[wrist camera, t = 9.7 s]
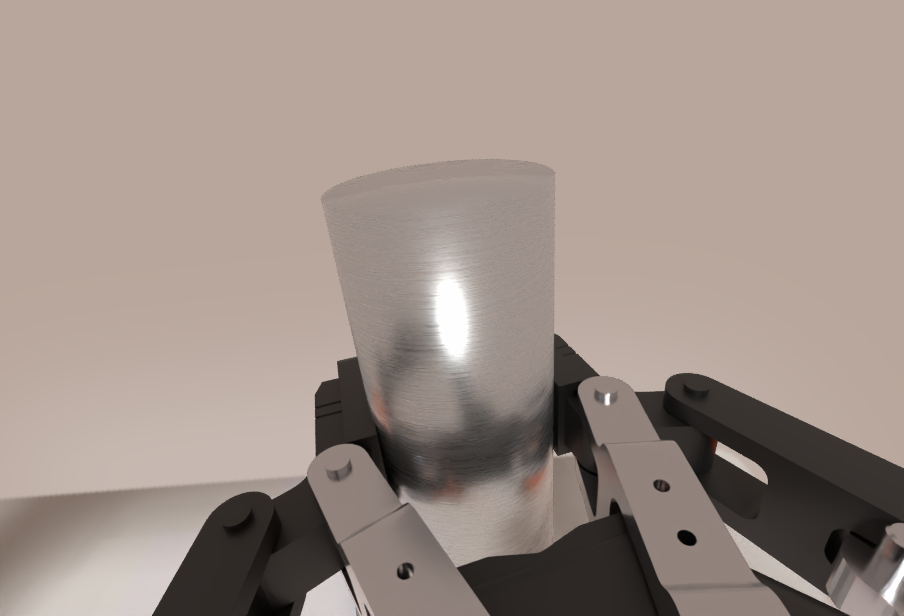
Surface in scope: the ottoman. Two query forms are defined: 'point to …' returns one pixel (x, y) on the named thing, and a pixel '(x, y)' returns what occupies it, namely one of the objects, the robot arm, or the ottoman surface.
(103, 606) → the ottoman surface
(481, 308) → the silver metal cylinder
